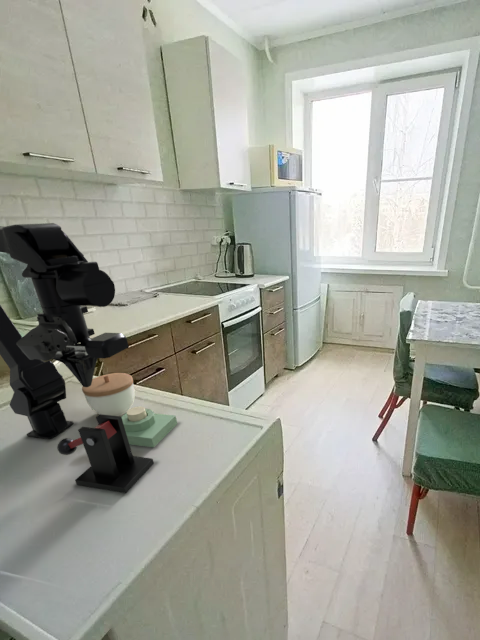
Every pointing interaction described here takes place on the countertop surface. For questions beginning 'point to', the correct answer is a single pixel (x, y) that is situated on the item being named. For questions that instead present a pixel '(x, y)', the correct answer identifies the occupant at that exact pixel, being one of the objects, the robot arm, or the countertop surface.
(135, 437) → the green button pad
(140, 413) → the timer button
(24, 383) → the robot arm
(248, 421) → the countertop surface
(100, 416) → the lever stand
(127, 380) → the trinket box
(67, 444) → the red lever
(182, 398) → the countertop surface
